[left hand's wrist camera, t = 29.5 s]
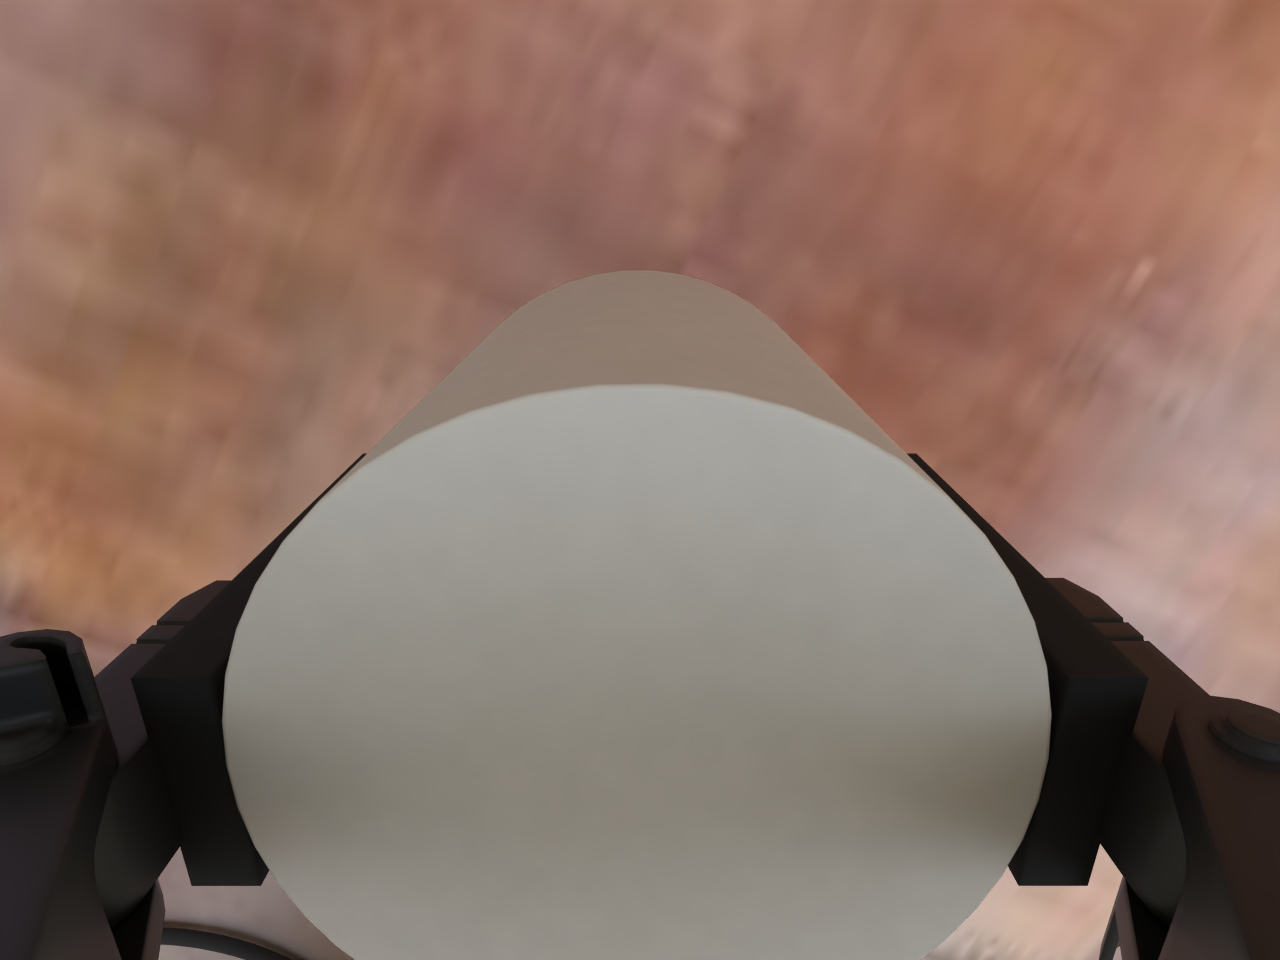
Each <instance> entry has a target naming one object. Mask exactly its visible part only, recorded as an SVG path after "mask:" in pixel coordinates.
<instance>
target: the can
mask: <svg viewBox="0 0 1280 960" xmlns="http://www.w3.org/2000/svg"><path fill="white" fill-rule="evenodd" d="M1051 716H1052V714H1051V704H1050V693H1049V683H1048V673H1047V665H1046V662H1045V658H1044V654H1043V651H1042V647H1041V643H1040V640H1039V636H1038V632H1037V629H1036V625H1035V621H1034V619H1033V617H1032V615H1031V613H1030V611H1029V609H1028V606H1027V604H1026V602H1025V600H1024V598H1023V596H1022V593H1021V591H1020V589H1019V587H1018V585H1017V583H1016V580H1015V578H1014V576H1013V575H1012V574H1011V572H1010V571H1009V569H1008V568H1007V566H1006V565H1005V563H1004V562H1003V560H1002V559H1001V557H1000V556H999V554H998V553H997V552H996V550H995V549H994V547H993V546H992V544H991V543H990V541H989V540H988V538H987V537H986V535H985V534H984V533H983V532H982V531H981V530H980V529H979V528H978V527H977V526H976V525H975V523H974V522H973V521H972V520H971V519H970V518H969V517H968V516H967V515H966V514H965V513H964V512H963V511H962V510H961V509H960V508H959V507H958V505H957V504H956V503H955V502H954V501H953V500H952V499H951V498H950V497H949V496H948V495H947V494H946V493H945V492H944V491H943V490H942V489H941V488H940V487H939V486H938V485H937V484H936V483H935V482H934V481H933V480H932V479H931V478H930V477H929V476H928V475H927V474H926V473H925V472H924V471H923V470H922V469H921V468H920V467H919V466H918V465H917V464H916V463H915V462H914V461H913V460H912V459H911V458H910V457H909V456H908V455H907V454H906V453H905V452H904V451H903V450H902V449H901V448H900V447H899V446H898V445H897V444H896V443H895V442H894V441H893V440H892V439H891V438H890V437H889V436H888V435H887V434H886V433H885V432H884V431H883V430H882V429H881V428H880V427H879V426H878V425H877V424H876V423H875V422H874V421H873V420H872V419H871V418H870V417H869V416H868V415H867V414H866V413H865V412H864V411H863V410H862V409H861V408H860V407H859V406H858V405H857V404H856V403H855V402H854V401H853V400H852V399H851V398H850V397H849V396H848V395H847V394H846V393H845V392H844V391H843V390H842V389H841V388H840V387H839V386H838V385H837V384H836V383H835V382H834V381H833V380H832V379H831V378H830V377H829V376H828V375H827V374H826V373H825V372H824V371H823V370H822V369H821V368H820V367H819V366H818V365H817V364H816V363H815V362H814V361H813V360H812V359H811V358H810V357H809V356H808V355H807V354H806V353H805V352H804V351H803V350H802V349H801V348H800V347H799V346H798V345H797V344H796V343H795V342H794V341H793V340H792V339H791V338H790V337H789V336H788V335H787V334H786V333H785V332H784V331H783V330H782V329H781V328H780V327H779V326H778V325H777V324H776V323H775V322H774V321H773V320H772V319H770V318H769V317H768V316H767V315H765V314H764V313H763V312H762V311H760V310H759V309H758V308H756V307H755V306H754V305H752V304H751V303H749V302H747V301H746V300H744V299H742V298H740V297H739V296H737V295H735V294H734V293H732V292H730V291H728V290H726V289H723V288H721V287H718V286H716V285H714V284H711V283H709V282H706V281H704V280H700V279H696V278H692V277H688V276H685V275H681V274H676V273H668V272H660V271H652V270H624V271H615V272H609V273H602V274H595V275H591V276H588V277H584V278H581V279H577V280H574V281H571V282H567V283H565V284H563V285H561V286H558V287H556V288H554V289H552V290H549V291H547V292H545V293H543V294H541V295H539V296H538V297H536V298H534V299H533V300H531V301H530V302H528V303H526V304H525V305H523V306H522V307H520V308H519V309H517V310H516V311H515V312H514V313H513V314H511V315H510V316H509V317H508V318H507V319H505V320H504V321H503V322H502V323H501V324H499V325H498V326H497V327H496V328H495V329H494V330H493V331H492V332H491V333H490V334H489V335H488V336H487V337H486V338H485V339H484V340H483V341H482V342H481V343H480V344H479V345H478V346H477V347H476V348H475V349H474V350H473V351H472V352H471V353H470V354H469V355H468V356H467V357H466V358H465V359H464V360H463V361H462V362H460V363H459V364H458V365H457V366H456V367H455V368H454V369H453V370H452V371H451V372H450V373H449V374H448V375H447V376H446V377H445V378H444V379H443V380H442V381H441V382H440V383H439V384H438V385H437V386H436V387H435V388H434V389H433V390H432V391H431V392H430V393H429V394H428V395H427V396H426V397H425V398H424V399H423V400H422V401H421V402H420V403H419V404H418V405H417V406H415V407H414V408H413V409H412V410H411V411H410V412H409V413H408V414H407V415H406V416H405V417H404V418H403V419H402V420H401V421H400V422H399V423H398V424H397V425H396V426H395V427H394V428H393V429H392V430H391V431H390V432H389V433H388V434H387V435H386V436H385V437H384V438H383V439H382V440H381V441H380V442H379V443H378V444H377V445H376V446H375V447H374V448H373V449H372V450H370V451H369V452H368V453H367V454H366V455H365V456H364V457H363V458H362V459H361V460H360V461H359V462H358V463H357V464H356V465H355V466H354V467H353V468H352V469H351V470H350V471H349V472H348V473H347V474H346V475H345V476H344V477H343V478H342V479H341V480H340V481H339V482H338V483H337V484H336V485H335V486H334V487H333V488H332V489H331V490H330V491H329V492H328V493H327V494H325V495H324V496H323V497H322V498H321V499H320V500H319V501H318V502H317V504H316V505H315V506H314V507H313V508H312V509H311V510H310V511H309V513H308V514H307V515H306V516H305V517H304V518H303V519H302V520H301V522H300V523H299V524H298V525H297V526H296V527H295V528H294V529H293V530H292V532H291V533H290V534H289V535H288V536H287V537H286V538H285V539H284V541H283V542H282V543H281V545H280V547H279V548H278V550H277V551H276V553H275V554H274V556H273V557H272V559H271V561H270V562H269V564H268V565H267V567H266V568H265V570H264V571H263V573H262V575H261V576H260V578H259V579H258V581H257V582H256V584H255V586H254V589H253V591H252V593H251V596H250V598H249V600H248V603H247V605H246V607H245V610H244V612H243V614H242V617H241V619H240V621H239V624H238V626H237V628H236V632H235V636H234V640H233V645H232V649H231V653H230V657H229V661H228V665H227V670H226V674H225V685H224V700H223V715H222V726H223V736H224V746H225V756H226V766H227V769H228V773H229V777H230V781H231V784H232V788H233V792H234V796H235V799H236V803H237V807H238V809H239V812H240V814H241V816H242V818H243V821H244V823H245V825H246V828H247V830H248V832H249V834H250V837H251V839H252V841H253V844H254V846H255V848H256V849H257V851H258V852H259V854H260V856H261V857H262V859H263V861H264V862H265V864H266V865H267V867H268V869H269V870H270V872H271V873H272V875H273V877H274V878H275V880H276V882H277V883H278V884H279V885H280V887H281V888H282V889H283V890H284V892H285V893H286V894H287V895H288V896H289V898H290V899H291V900H292V901H293V903H294V904H295V905H296V906H297V907H298V909H299V910H300V911H301V912H302V914H303V915H304V916H305V917H306V918H307V919H308V920H309V921H310V922H311V923H313V924H314V925H315V926H316V927H317V928H318V929H319V930H320V931H321V932H322V933H323V934H324V935H325V936H326V937H327V938H328V939H329V940H330V941H331V942H332V943H333V944H334V945H336V946H337V947H338V948H340V949H341V950H342V951H344V952H345V953H346V954H348V955H349V956H350V957H351V958H353V959H354V960H921V959H922V958H923V957H924V956H926V955H927V954H928V953H929V952H931V951H932V950H933V949H934V948H936V947H937V946H938V945H940V944H941V943H942V942H943V941H945V940H946V939H947V938H948V937H949V936H950V935H951V934H952V933H953V932H954V931H955V930H956V929H957V928H958V927H959V926H960V925H961V924H962V923H963V922H964V921H965V920H966V919H967V918H968V917H969V916H970V915H971V914H972V913H973V912H974V911H975V910H976V908H977V907H978V906H979V904H980V903H981V902H982V901H983V899H984V898H985V897H986V895H987V894H988V893H989V892H990V890H991V889H992V888H993V886H994V885H995V884H996V883H997V881H998V880H999V879H1000V877H1001V876H1002V874H1003V873H1004V871H1005V869H1006V868H1007V866H1008V864H1009V862H1010V861H1011V859H1012V857H1013V856H1014V854H1015V852H1016V850H1017V849H1018V847H1019V845H1020V844H1021V842H1022V840H1023V838H1024V835H1025V833H1026V830H1027V828H1028V825H1029V823H1030V820H1031V818H1032V816H1033V813H1034V811H1035V808H1036V806H1037V803H1038V801H1039V797H1040V792H1041V788H1042V784H1043V780H1044V775H1045V771H1046V767H1047V763H1048V758H1049V744H1050V730H1051Z"/></svg>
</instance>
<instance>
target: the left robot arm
mask: <svg viewBox="0 0 1280 960" xmlns="http://www.w3.org/2000/svg"><path fill="white" fill-rule="evenodd" d="M365 455H366V454H362V455H361V456H360V457H359V458H358V459H357V460H356V461H355V462H354V463H353V464H352V465H351V466H350V467H349V468H348V469H347V470H346V471H345V472H344V473H343V474H342V475H341V476H340V477H339V478H338V479H336V480H335V481H334V482H333V483H332V484H331V485H330V486H329V487H328V488H327V489H326V490H325V491H324V492H323V493H322V494H321V495H320V496H319V497H318V498H317V499H316V500H315V501H314V502H313V503H312V504H311V505H310V506H309V507H307V508H306V509H305V510H304V511H303V512H302V513H301V514H300V515H299V516H298V517H297V518H296V519H295V520H294V521H293V522H292V523H291V524H290V525H289V526H288V527H287V528H286V529H285V530H284V531H283V532H282V533H281V534H280V535H279V536H277V537H276V538H275V539H274V540H273V541H272V542H271V543H270V544H269V545H268V546H267V547H266V548H265V549H264V550H263V551H262V552H261V553H260V554H259V555H258V556H257V557H256V558H255V559H254V560H253V561H252V562H251V563H250V564H248V565H247V566H246V567H245V568H244V569H243V570H242V571H241V572H240V573H239V574H238V575H237V576H236V577H235V578H234V579H233V580H232V581H215V582H213V583H211V584H209V585H207V586H205V587H203V588H201V589H200V590H198V591H196V592H194V593H192V594H190V595H188V596H186V597H184V598H183V599H181V600H180V601H179V602H178V603H176V604H175V605H174V606H173V607H172V608H171V609H170V610H169V611H168V612H166V613H165V614H164V615H163V616H162V617H161V618H160V619H159V620H158V621H157V625H152V626H151V627H150V628H149V629H148V630H146V631H145V632H144V633H143V634H142V635H141V636H140V637H139V638H138V639H137V643H136V644H131V645H130V646H129V647H128V648H126V649H125V650H124V651H123V652H122V653H121V654H120V655H119V656H118V657H116V658H115V659H114V660H113V661H112V662H111V663H110V664H109V665H108V666H106V667H105V668H104V669H103V670H102V671H101V672H100V673H99V674H98V675H96V676H95V677H94V675H93V672H92V669H91V666H90V663H89V660H88V656H87V653H86V650H85V647H84V644H83V641H82V639H81V638H80V637H78V636H76V635H75V634H73V633H71V632H70V631H60V630H51V629H44V630H35V631H26V632H18V633H14V634H10V635H6V636H2V637H0V960H158V958H159V951H160V944H161V945H176V946H185V947H193V948H199V949H205V950H210V951H215V952H219V953H223V954H227V955H231V956H235V957H238V958H241V959H244V960H292V959H290V958H288V957H285V956H283V955H281V954H279V953H276V952H274V951H272V950H269V949H267V948H264V947H261V946H259V945H256V944H253V943H250V942H247V941H243V940H240V939H236V938H232V937H228V936H224V935H220V934H215V933H210V932H204V931H198V930H190V929H180V928H163V924H164V917H165V906H164V899H163V894H162V890H161V887H160V884H159V881H158V877H159V876H160V874H161V873H162V871H163V870H164V868H165V867H166V866H167V864H168V863H169V861H170V860H171V858H172V857H173V856H174V854H175V853H176V851H177V850H178V848H179V847H181V851H182V854H183V857H184V861H185V864H186V868H187V871H188V874H189V878H190V881H191V885H192V886H261V884H262V883H263V881H264V879H265V877H266V875H267V873H268V872H269V869H268V867H267V865H266V864H265V862H264V861H263V859H262V857H261V856H260V854H259V852H258V851H257V849H256V848H255V846H254V844H253V841H252V839H251V837H250V834H249V832H248V830H247V828H246V825H245V823H244V821H243V818H242V816H241V814H240V812H239V809H238V807H237V803H236V799H235V796H234V792H233V788H232V784H231V781H230V777H229V773H228V769H227V766H226V756H225V746H224V736H223V726H222V715H223V700H224V685H225V674H226V670H227V665H228V661H229V657H230V653H231V649H232V645H233V640H234V636H235V632H236V628H237V626H238V624H239V621H240V619H241V617H242V614H243V612H244V610H245V607H246V605H247V603H248V600H249V598H250V596H251V593H252V591H253V589H254V586H255V584H256V582H257V581H258V579H259V578H260V576H261V575H262V573H263V571H264V570H265V568H266V567H267V565H268V564H269V562H270V561H271V559H272V557H273V556H274V554H275V553H276V551H277V550H278V548H279V547H280V545H281V543H282V542H283V541H284V539H285V538H286V537H287V536H288V535H289V534H290V533H291V532H292V530H293V529H294V528H295V527H296V526H297V525H298V524H299V523H300V522H301V520H302V519H303V518H304V517H305V516H306V515H307V514H308V513H309V511H310V510H311V509H312V508H313V507H314V506H315V505H316V504H317V502H318V501H319V500H320V499H321V498H322V497H323V496H324V495H325V494H327V493H328V492H329V491H330V490H331V489H332V488H333V487H334V486H335V485H336V484H337V483H338V482H339V481H340V480H341V479H342V478H343V477H344V476H345V475H346V474H347V473H348V472H349V471H350V470H351V469H352V468H353V467H354V466H355V465H356V464H357V463H358V462H359V461H360V460H361V459H362V458H363V457H364V456H365ZM907 455H908V456H909V457H910V458H911V459H912V460H913V461H914V462H915V463H916V464H917V465H918V466H919V467H920V468H921V469H922V470H923V471H924V472H925V473H926V474H927V475H928V476H929V477H930V478H931V479H932V480H933V481H934V482H935V483H936V484H937V485H938V486H939V487H940V488H941V489H942V490H943V491H944V492H945V493H946V494H947V495H948V496H949V497H950V498H951V499H952V500H953V501H954V502H955V503H956V504H957V505H958V507H959V508H960V509H961V510H962V511H963V512H964V513H965V514H966V515H967V516H968V517H969V518H970V519H971V520H972V521H973V522H974V523H975V525H976V526H977V527H978V528H979V529H980V530H981V531H982V532H983V533H984V534H985V535H986V537H987V538H988V540H989V541H990V543H991V544H992V546H993V547H994V549H995V550H996V552H997V553H998V554H999V556H1000V557H1001V559H1002V560H1003V562H1004V563H1005V565H1006V566H1007V568H1008V569H1009V571H1010V572H1011V574H1012V575H1013V576H1014V578H1015V580H1016V583H1017V585H1018V587H1019V589H1020V591H1021V593H1022V596H1023V598H1024V600H1025V602H1026V604H1027V606H1028V609H1029V611H1030V613H1031V615H1032V617H1033V619H1034V621H1035V625H1036V629H1037V632H1038V636H1039V640H1040V643H1041V647H1042V651H1043V654H1044V658H1045V662H1046V665H1047V673H1048V683H1049V693H1050V704H1051V714H1052V716H1051V730H1050V744H1049V758H1048V763H1047V767H1046V771H1045V775H1044V780H1043V784H1042V788H1041V792H1040V797H1039V801H1038V803H1037V806H1036V808H1035V811H1034V813H1033V816H1032V818H1031V820H1030V823H1029V825H1028V828H1027V830H1026V833H1025V835H1024V838H1023V840H1022V842H1021V844H1020V845H1019V847H1018V849H1017V850H1016V852H1015V854H1014V856H1013V857H1012V859H1011V861H1010V862H1009V864H1008V867H1009V869H1010V871H1011V872H1012V874H1013V876H1014V878H1015V880H1016V882H1017V884H1018V885H1019V886H1088V883H1089V879H1090V876H1091V872H1092V869H1093V866H1094V862H1095V859H1096V855H1097V852H1098V849H1099V845H1100V844H1101V845H1102V846H1103V848H1104V849H1105V851H1106V852H1107V854H1108V855H1109V856H1110V858H1111V859H1112V861H1113V862H1114V864H1115V865H1116V866H1117V868H1118V869H1119V871H1120V872H1121V874H1122V875H1123V878H1122V881H1121V884H1120V887H1119V890H1118V894H1117V897H1116V900H1115V903H1114V906H1113V909H1112V913H1111V916H1110V919H1109V922H1108V925H1107V928H1106V932H1105V935H1104V938H1103V941H1102V944H1101V950H1100V956H1099V960H1113V957H1114V954H1115V951H1116V948H1117V947H1119V946H1120V948H1121V955H1122V960H1280V713H1278V712H1276V711H1274V710H1272V709H1269V708H1266V707H1262V706H1259V705H1256V704H1252V703H1249V702H1246V701H1242V700H1239V699H1232V698H1224V697H1216V696H1210V695H1209V694H1208V693H1206V692H1205V691H1204V690H1203V689H1202V688H1201V687H1200V686H1199V685H1197V684H1196V683H1195V682H1194V681H1193V680H1192V679H1191V678H1190V677H1188V676H1187V675H1186V674H1185V673H1184V672H1183V671H1182V670H1181V669H1180V668H1178V667H1177V666H1176V665H1175V664H1174V663H1173V662H1172V661H1171V660H1169V659H1168V658H1167V657H1166V656H1165V655H1164V654H1163V653H1162V652H1160V651H1159V650H1158V649H1157V648H1156V647H1155V646H1154V645H1153V644H1152V643H1150V642H1149V641H1144V639H1143V635H1141V634H1140V633H1139V632H1138V631H1137V630H1136V629H1135V628H1134V627H1132V626H1131V625H1130V624H1129V623H1128V622H1123V618H1122V617H1121V616H1120V615H1119V614H1118V613H1117V612H1116V611H1115V610H1113V609H1112V608H1111V607H1110V606H1109V605H1108V604H1107V603H1106V602H1104V601H1103V600H1102V599H1101V598H1100V597H1099V596H1097V595H1095V594H1093V593H1091V592H1089V591H1087V590H1086V589H1084V588H1082V587H1080V586H1078V585H1076V584H1074V583H1072V582H1070V581H1068V580H1066V579H1065V578H1044V577H1043V576H1042V575H1041V574H1040V573H1039V572H1038V571H1037V570H1036V569H1035V568H1034V567H1033V566H1032V565H1031V564H1030V563H1029V562H1028V561H1027V560H1026V559H1025V558H1024V557H1023V556H1022V555H1021V554H1020V553H1019V552H1018V551H1016V550H1015V549H1014V548H1013V547H1012V546H1011V545H1010V544H1009V543H1008V542H1007V541H1006V540H1005V539H1004V538H1003V537H1002V536H1001V535H1000V534H999V533H998V532H997V531H996V530H995V529H994V528H993V527H992V526H991V525H990V524H989V523H987V522H986V521H985V520H984V519H983V518H982V517H981V516H980V515H979V514H978V513H977V512H976V511H975V510H974V509H973V508H972V507H971V506H970V505H969V504H968V503H967V502H966V501H965V500H964V499H963V498H962V497H961V496H960V495H959V494H957V493H956V492H955V491H954V490H953V489H952V488H951V487H950V486H949V485H948V484H947V483H946V482H945V481H944V480H943V479H942V478H941V477H940V476H939V475H938V474H937V473H936V472H935V471H934V470H933V469H932V468H931V467H930V466H928V465H927V464H926V463H925V462H924V461H923V460H922V459H921V458H920V457H919V456H918V455H917V454H907Z"/></svg>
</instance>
